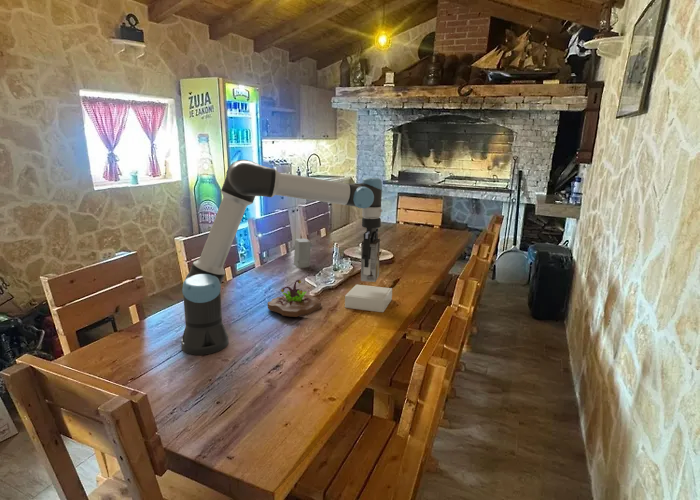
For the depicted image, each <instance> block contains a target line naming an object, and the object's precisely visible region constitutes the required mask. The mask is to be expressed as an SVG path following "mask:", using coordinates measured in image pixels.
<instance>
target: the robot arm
mask: <svg viewBox="0 0 700 500" xmlns="http://www.w3.org/2000/svg"><path fill="white" fill-rule="evenodd" d="M382 182H383V181H382V179H381V178H378V177H364V178H363V179H362V182H361V183H360V182H359V183H346V182H339V181H332V180H327V179H321V178H315V177H308V176H302V175H297V174H292V173H285V172H279V171H278V170H277V168H275V167H274V168H273V167H268V166H265V165H262V164H260V163H257V162H254V161H251V160H248V159H238V160H236V161H234V162H233V163H231V164H230V165H229V166H228V168H227V170H226V174H225V179H224V182H223V184H222V186H221V189H220V192H221V194H222V200H221V201H220V204H219V207H218V210H217V212H216V215H215V217H214V221H213V222H212V225H211V228H210V230H209V233H208V235H207V238H206V241H205V243H204V246H203V249H202V252H201V254H200V256H199V259H196V260H194V261H193V263H192V265H191V267H190V270H189V272H188V274H187V275H186V277H185V279H184V281H183V283H182V289H181V292H182V296H183V310H184V321H185V322H184V323H185V327H184V331H183V333H182V339H181V342H180V343H181V350H182V351H183V352H184V353H186V354H189V355H194V356H203V355H205V356H206V355H210V354H213V353H217V352H220V351H222V350H223V349H225V348H226V347H227V346H228V344H229V335H228V333H227V331H226V328H225V325H224V322H223V316H222V315H223V313H222V299H221V298H222V295H221V291H222V286H221V285H222V282H223V279H224V277H225V274H226V271H225V269H224V265H225V262H226V261H227V259H228V258H227V257H228V255H229V252H230V250H231V247H232V245H233V242H234V239H235V237H236V234H237V232H238V229H239V227H240V225H241V224H240V223H241V222H242V219H243V217H244V214H245V213H246V208H247V207H248V206H250V205H252V204H253V203H254V201H255V198H256V197H264V198H266V197H267V198H273V197H275V196H281V197H287V198H294V199H302V200H307V201H308V200H309V201H315V202H321V203H322V202H323V203H329V204H336V205H342V206H349V207H355V208H358V209H361V216H362V218H361V227H362V228H365V229H366V230H365V232H364V233H363V240H364V242H363V241H362V242H363V253H362V257H361V256H360V258H362V259H364V267H363V274H364V275H370V269H371V259H370V255H371V247H370V243H372V242H374V240H377V239H379V234H378V233H379V228H381V225H382V218H381V217H382V216H381V215H382V212H383V209H382V196H383V194H382V192H383V183H382ZM366 255H367V256H366Z"/></svg>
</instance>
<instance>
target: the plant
mask: <svg viewBox="0 0 700 500" xmlns="http://www.w3.org/2000/svg"><path fill="white" fill-rule="evenodd" d="M301 283H302V280H300V279H296V280H295V282H294V283H293V288H291V287H290V286H284V287H283V288H281V290H280V292H282V296H278V297H275V298H271V300H270V301H267V310H268V311H271V312H274V313H278V314H280V315H281V316H283V317H289V318H290V317H291V318H292V317H293V318H298V317H299V316H303V315H310V314H312V313H313V312H315V311H317V310H319V309H321V308H322V302H321V301H320V300H319V298H318V297H316V296H314V295H313V296H312V295H310V294H306V293H307V290H306V291H303V290H302V289H301V288H297V284H301ZM285 289H288V290H287V292H285Z"/></svg>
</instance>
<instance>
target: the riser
mask: <svg viewBox="0 0 700 500" xmlns="http://www.w3.org/2000/svg"><path fill="white" fill-rule="evenodd" d="M392 299H393V287H385V286H384V287H381V286H373V285H366V284H365V285H364V284H356V283H355V285H354V286H353V287H352V288H351V289H350V290H349V291H348V292H347V293H346V294H345V295H344V308H347V309H352V310H353V309H354V310H362V311H370V312H378V313H384V312H385V310H386V309H387V307H388V306H389V304H390V303H391V302H392Z"/></svg>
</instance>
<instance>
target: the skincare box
mask: <svg viewBox="0 0 700 500" xmlns="http://www.w3.org/2000/svg"><path fill="white" fill-rule="evenodd" d="M311 245H312V244H311V241H310V240H309V239H307V238H306V237H305V238H295V239H294V255H293V265H294V266H295V267H296V268H297V269H305V268H310V264H311V261H310V260H311Z"/></svg>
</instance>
